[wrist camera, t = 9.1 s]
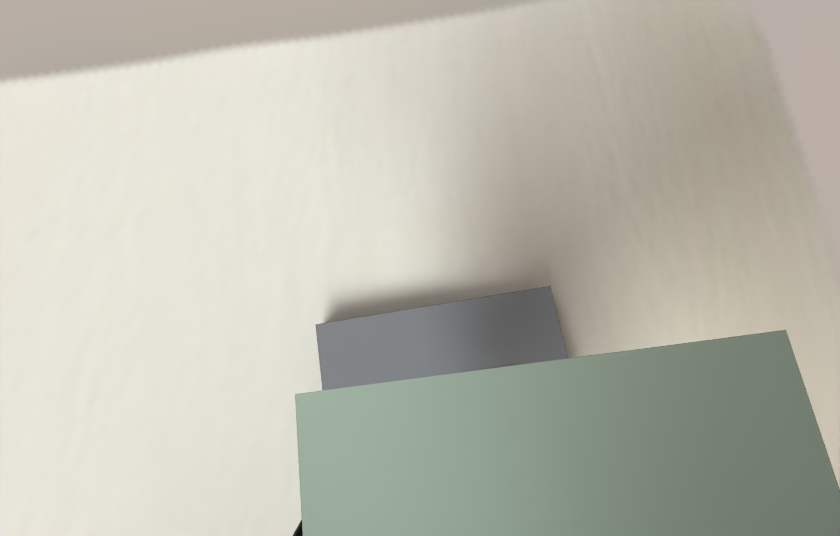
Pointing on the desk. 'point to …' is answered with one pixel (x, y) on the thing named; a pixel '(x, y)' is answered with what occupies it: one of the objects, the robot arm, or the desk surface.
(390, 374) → the pad
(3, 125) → the desk surface
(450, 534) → the sage block
